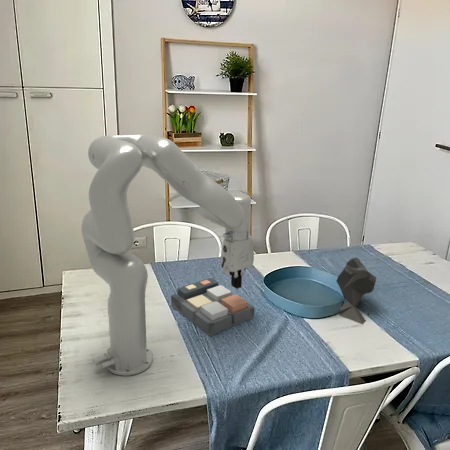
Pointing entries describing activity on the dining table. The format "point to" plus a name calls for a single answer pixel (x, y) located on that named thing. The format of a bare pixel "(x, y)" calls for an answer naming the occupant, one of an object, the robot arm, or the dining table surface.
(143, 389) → the dining table surface
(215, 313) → the key grey front
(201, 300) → the key sand
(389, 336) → the dining table surface
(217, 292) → the key grey back
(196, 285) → the keypad
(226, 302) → the key terracotta
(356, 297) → the dark faceted sculpture
